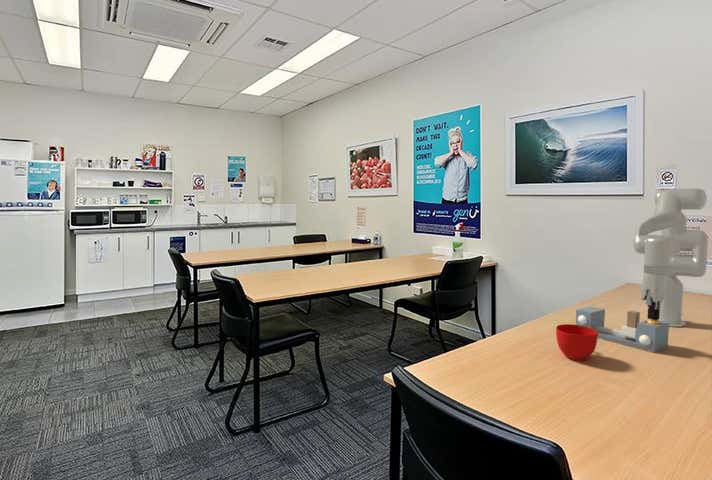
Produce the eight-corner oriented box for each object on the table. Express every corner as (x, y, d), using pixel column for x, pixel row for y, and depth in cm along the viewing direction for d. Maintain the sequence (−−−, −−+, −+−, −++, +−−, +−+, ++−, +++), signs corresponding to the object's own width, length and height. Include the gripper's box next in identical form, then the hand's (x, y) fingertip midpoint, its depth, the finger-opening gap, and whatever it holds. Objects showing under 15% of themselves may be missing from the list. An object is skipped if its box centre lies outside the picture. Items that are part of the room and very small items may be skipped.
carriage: (629, 333, 161) (631, 309, 160) (643, 337, 157) (645, 311, 156) (620, 336, 158) (622, 311, 157) (635, 340, 153) (636, 314, 152)
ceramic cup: (589, 349, 151) (590, 323, 150) (600, 366, 135) (602, 337, 134) (551, 345, 155) (552, 320, 154) (557, 361, 139) (558, 333, 138)
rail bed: (589, 327, 177) (590, 306, 176) (667, 347, 152) (669, 322, 151) (574, 332, 171) (575, 310, 170) (653, 353, 146) (654, 327, 145)
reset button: (649, 326, 154) (650, 318, 153) (660, 328, 151) (661, 320, 150) (645, 327, 152) (645, 319, 151) (656, 330, 149) (656, 322, 148)
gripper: (653, 267, 156) (651, 314, 158) (635, 270, 148) (632, 319, 150) (677, 270, 150) (674, 318, 151) (658, 273, 142) (655, 324, 144)
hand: (653, 318), depth 151 cm, fingers closed
